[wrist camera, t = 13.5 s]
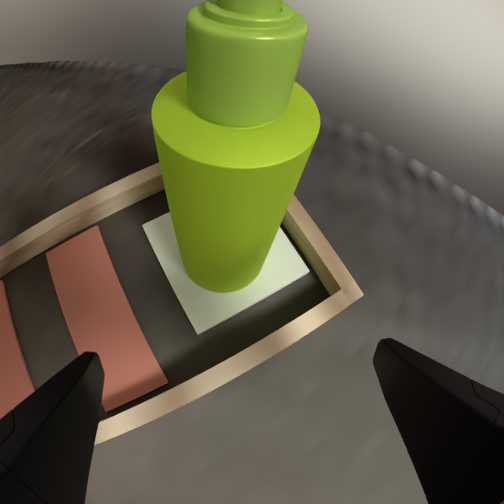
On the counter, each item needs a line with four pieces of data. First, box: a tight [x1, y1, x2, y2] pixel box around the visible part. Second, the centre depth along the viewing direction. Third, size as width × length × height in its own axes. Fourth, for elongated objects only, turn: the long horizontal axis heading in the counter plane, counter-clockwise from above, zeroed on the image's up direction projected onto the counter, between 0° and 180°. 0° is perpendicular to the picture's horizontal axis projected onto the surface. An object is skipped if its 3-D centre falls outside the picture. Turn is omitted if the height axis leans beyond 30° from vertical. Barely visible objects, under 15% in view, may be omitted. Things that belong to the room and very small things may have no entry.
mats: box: [0, 225, 169, 419], centre depth 17 cm, size 15×13×1 cm
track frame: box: [0, 163, 364, 445], centre depth 16 cm, size 44×16×2 cm, turn 121°
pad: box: [142, 212, 309, 335], centre depth 22 cm, size 9×9×1 cm
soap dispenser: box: [151, 0, 320, 293], centre depth 12 cm, size 6×7×20 cm
